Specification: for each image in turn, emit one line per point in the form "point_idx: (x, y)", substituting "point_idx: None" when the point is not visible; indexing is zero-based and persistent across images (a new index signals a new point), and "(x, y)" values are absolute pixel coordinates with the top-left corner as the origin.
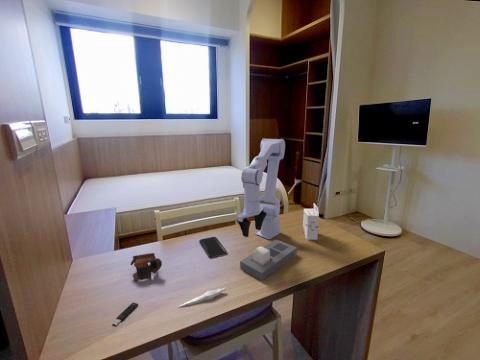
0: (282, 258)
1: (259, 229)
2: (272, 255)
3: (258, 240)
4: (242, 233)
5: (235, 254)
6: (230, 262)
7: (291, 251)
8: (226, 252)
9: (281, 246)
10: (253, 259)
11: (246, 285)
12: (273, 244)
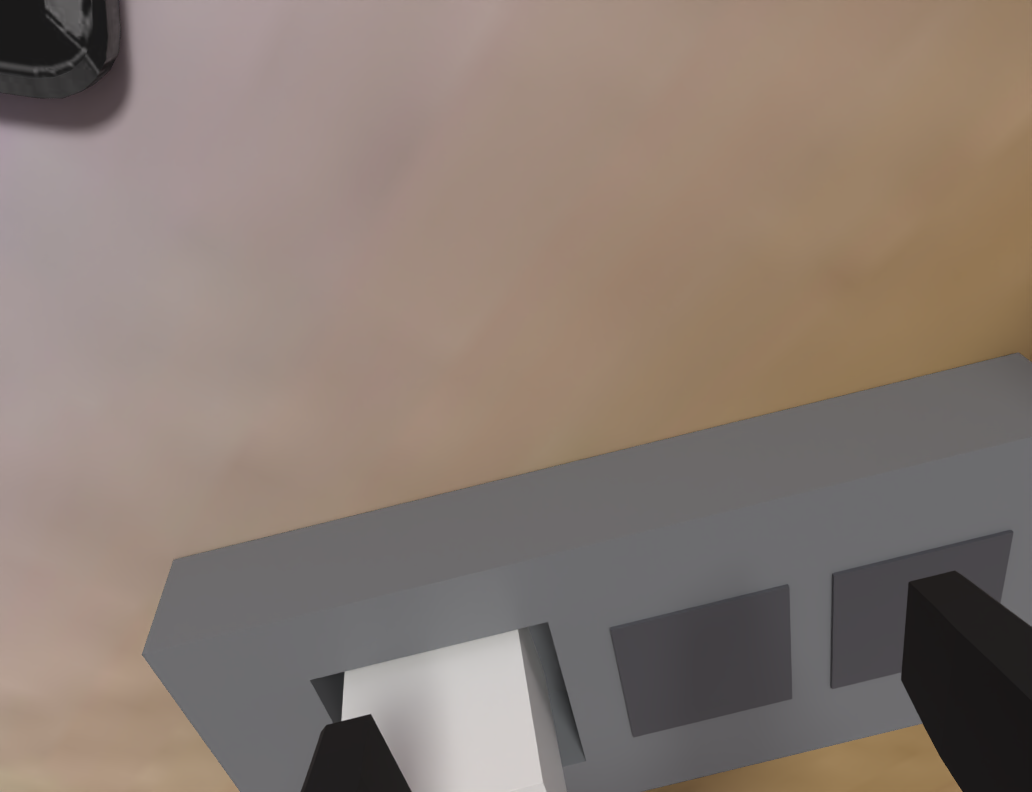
0: (698, 772)
1: (915, 701)
2: (646, 716)
3: (1009, 4)
4: (303, 787)
5: (273, 213)
6: (82, 379)
7: (906, 725)
8: (92, 84)
9: None
10: (347, 712)
11: (120, 775)
12: (916, 519)
